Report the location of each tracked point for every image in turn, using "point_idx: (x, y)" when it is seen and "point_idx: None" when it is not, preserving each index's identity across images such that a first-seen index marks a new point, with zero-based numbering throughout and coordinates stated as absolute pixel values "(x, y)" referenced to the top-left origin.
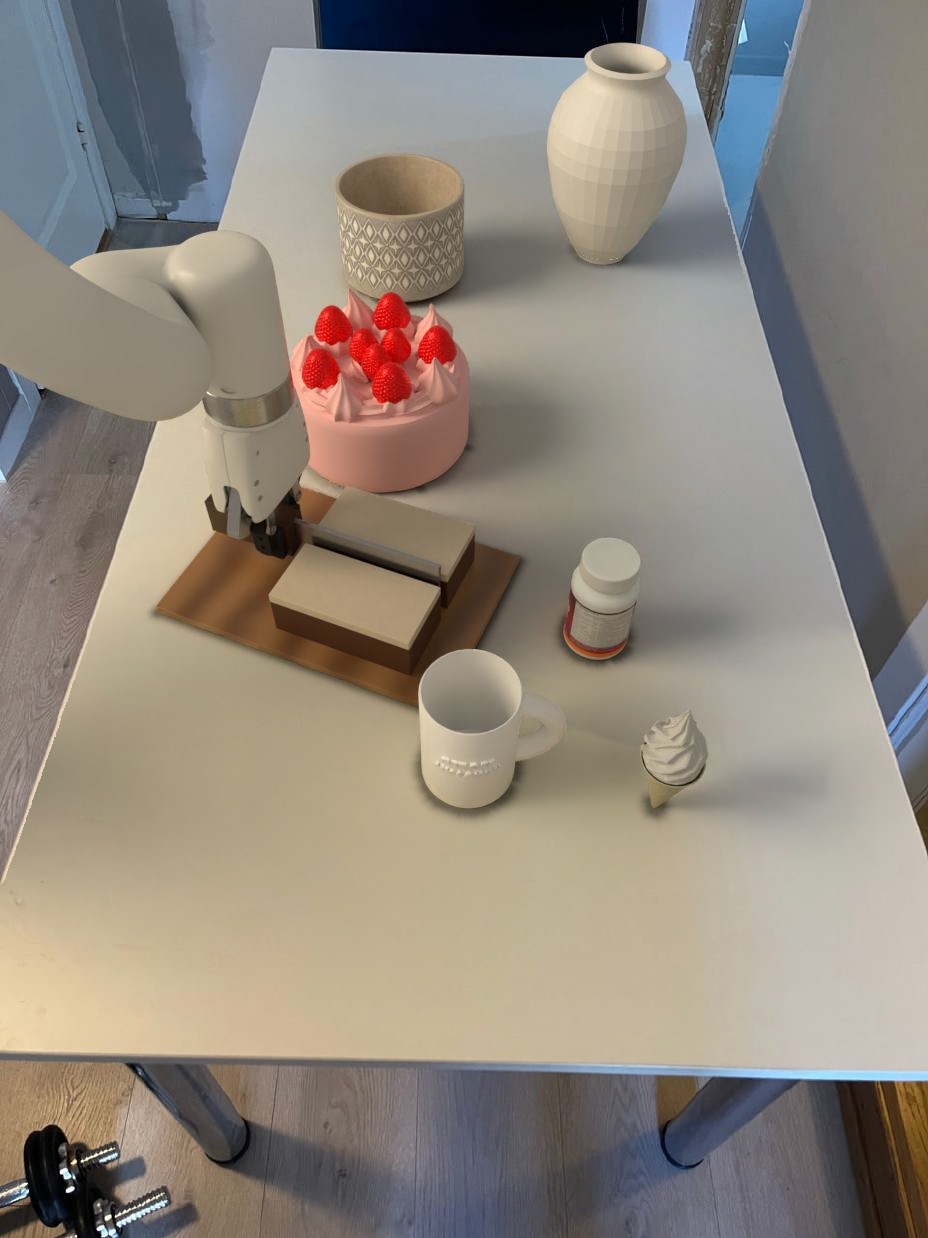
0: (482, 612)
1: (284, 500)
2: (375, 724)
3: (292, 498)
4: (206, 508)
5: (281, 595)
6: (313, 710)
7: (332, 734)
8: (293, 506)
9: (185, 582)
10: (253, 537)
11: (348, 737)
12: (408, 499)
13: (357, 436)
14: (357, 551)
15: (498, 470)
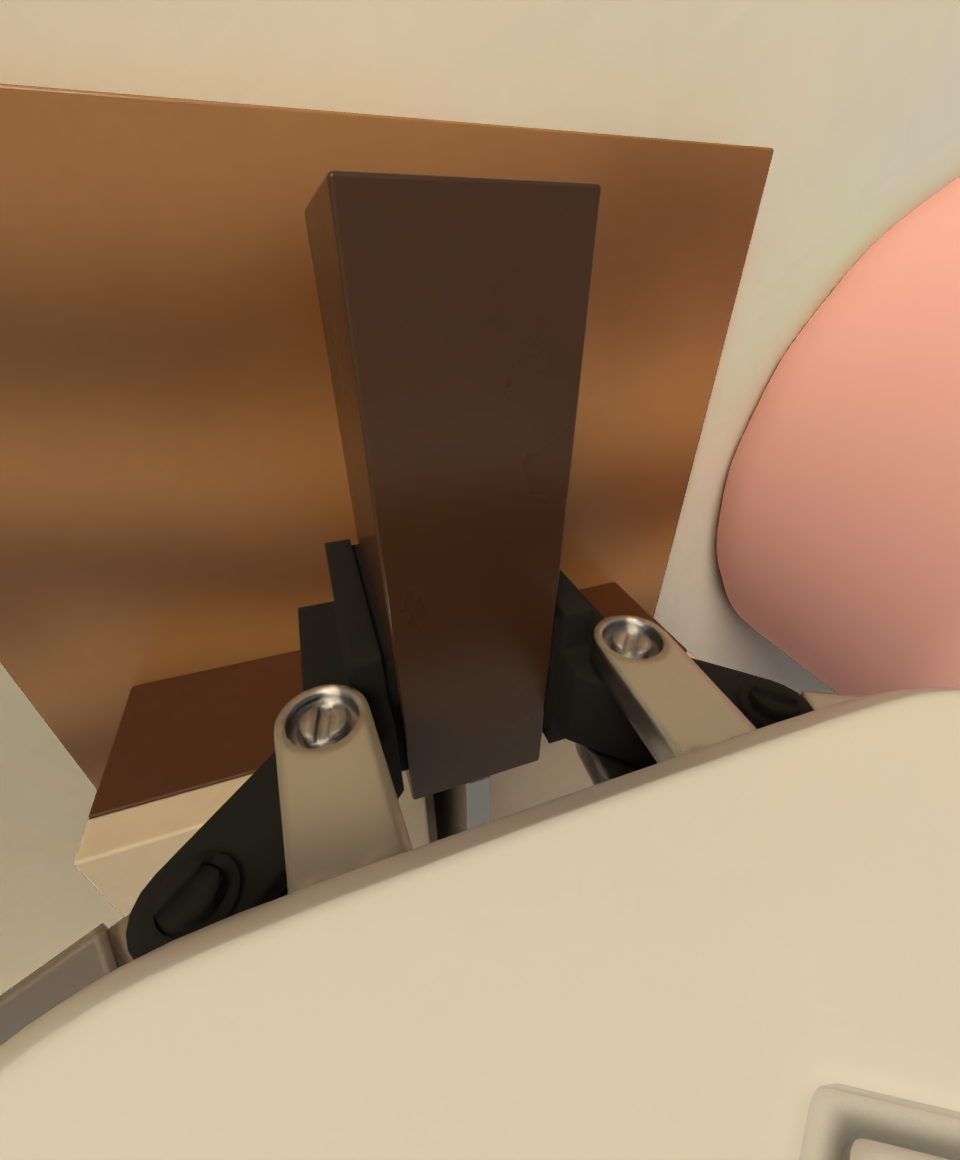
0: None
1: (565, 718)
2: (117, 921)
3: (583, 752)
4: (318, 187)
5: (119, 886)
6: (16, 858)
7: (5, 910)
8: (550, 730)
9: None
10: (332, 589)
11: (35, 924)
12: (702, 612)
13: (925, 658)
14: None
15: (781, 681)
